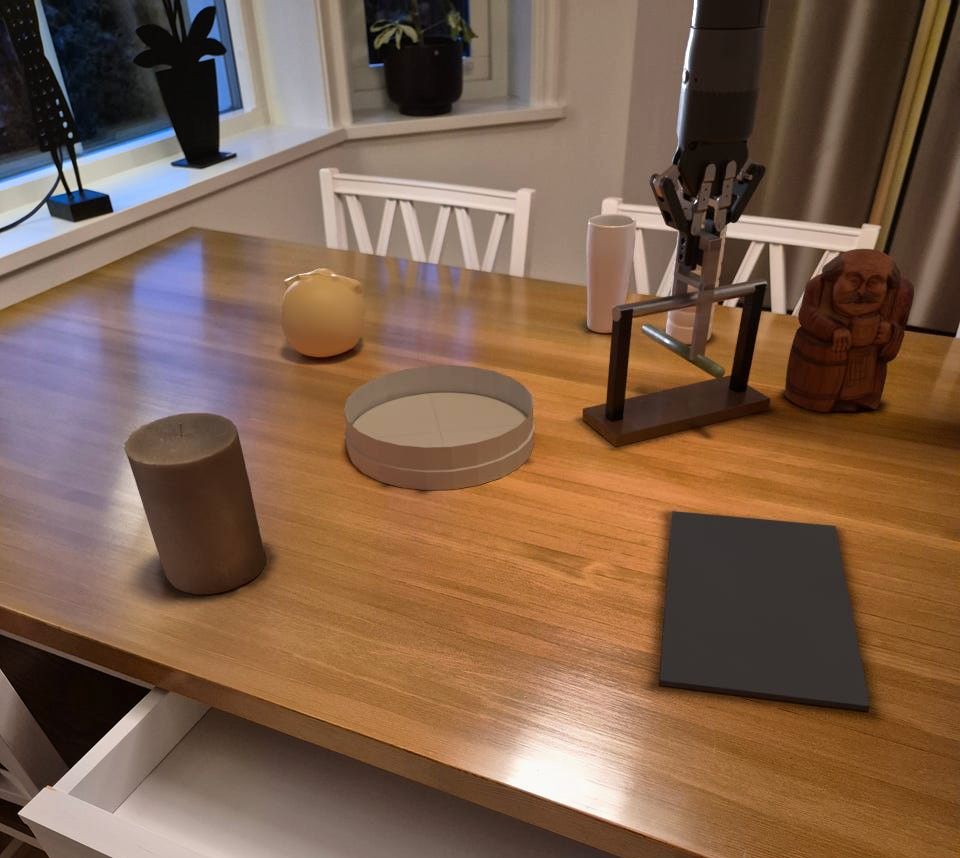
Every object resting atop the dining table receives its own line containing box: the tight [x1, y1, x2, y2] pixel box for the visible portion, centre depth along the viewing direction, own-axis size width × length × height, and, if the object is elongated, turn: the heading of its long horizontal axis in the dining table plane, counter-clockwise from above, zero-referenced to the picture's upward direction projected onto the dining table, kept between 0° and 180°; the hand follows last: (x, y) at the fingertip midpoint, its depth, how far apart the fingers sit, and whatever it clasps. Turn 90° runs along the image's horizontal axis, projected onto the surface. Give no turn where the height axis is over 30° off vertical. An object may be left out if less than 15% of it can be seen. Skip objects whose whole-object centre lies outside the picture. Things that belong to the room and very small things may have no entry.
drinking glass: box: [585, 213, 637, 334], centre depth 124 cm, size 7×7×15 cm
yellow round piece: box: [279, 267, 365, 358], centre depth 121 cm, size 11×12×11 cm
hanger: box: [641, 230, 726, 379], centre depth 98 cm, size 16×2×14 cm, turn 24°
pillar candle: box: [123, 412, 267, 595], centre depth 79 cm, size 10×10×15 cm
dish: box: [343, 364, 536, 491], centre depth 100 cm, size 22×22×5 cm
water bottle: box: [665, 198, 728, 345], centre depth 119 cm, size 9×6×25 cm
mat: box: [658, 510, 871, 712], centre depth 77 cm, size 26×16×1 cm, turn 168°
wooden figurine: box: [784, 248, 915, 413], centre depth 102 cm, size 12×6×18 cm, turn 86°
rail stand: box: [581, 278, 771, 448], centre depth 102 cm, size 8×22×15 cm, turn 114°
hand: (696, 267), depth 95 cm, fingers closed on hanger, 1 cm apart
